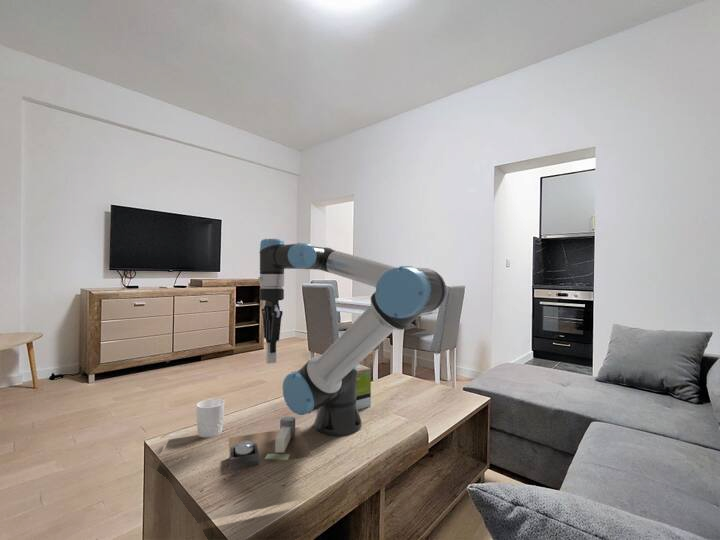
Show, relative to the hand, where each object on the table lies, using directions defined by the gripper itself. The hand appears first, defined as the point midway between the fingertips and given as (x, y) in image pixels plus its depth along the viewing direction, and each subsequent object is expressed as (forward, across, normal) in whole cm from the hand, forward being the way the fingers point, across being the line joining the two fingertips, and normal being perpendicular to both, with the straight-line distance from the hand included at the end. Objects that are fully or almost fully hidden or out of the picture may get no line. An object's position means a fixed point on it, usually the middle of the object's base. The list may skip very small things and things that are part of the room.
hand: (271, 362), depth 107 cm
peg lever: (+20, +12, 0) cm, 23 cm away
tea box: (+22, -8, +34) cm, 41 cm away
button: (+19, +15, -12) cm, 27 cm away
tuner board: (+22, +11, -4) cm, 25 cm away
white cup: (+22, -7, -16) cm, 28 cm away
